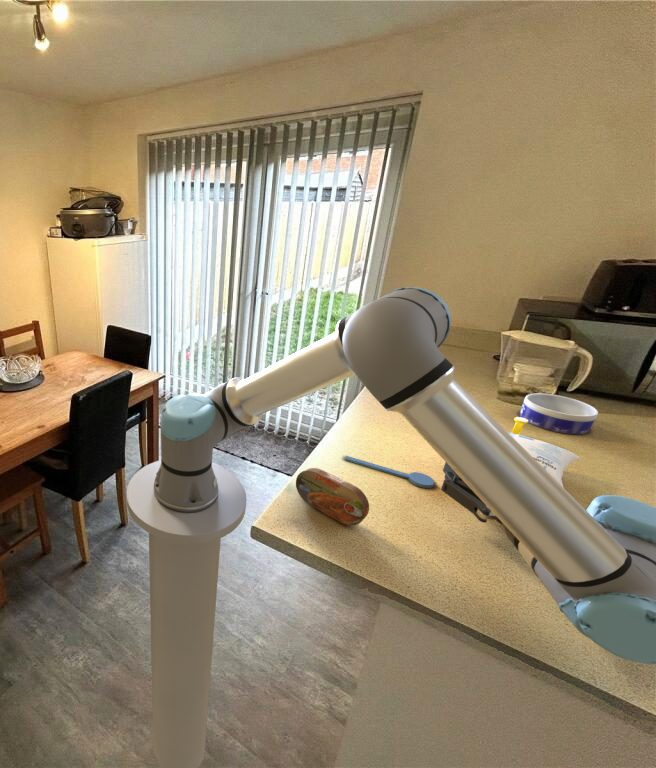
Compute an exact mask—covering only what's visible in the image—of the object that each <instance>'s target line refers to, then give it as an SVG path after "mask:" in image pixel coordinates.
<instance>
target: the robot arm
mask: <svg viewBox="0 0 656 768" xmlns="http://www.w3.org/2000/svg"><path fill="white" fill-rule="evenodd" d="M451 314H452V313H451V311H450V308H449V306H448V304H447V303H446V302H445V300H444V299H443V298H442V297H441V296H440V295H439V294H437V293H436V292H434V291H432V290H429V289H427V288H423V287H415V286H413V287H410V286H409V287H407V286H405V287H399V288H395V289H392V290H391V291H389V292H388V293H386V294H384V295H383V296H381V297H380V298H377V299H375V300H372V301H370V302H368V303H366V304H363V306H361V307H359V308H358V309H357V310H356V311H354V312H352V313H350V314H348V315H346V316H345V317H343V318H341V319H340V320H338V322H337V324H336V327H335V331H334V332H333V333H331V334H328V335H327V336H325V337H323V338H322V339H319V340H318V341H315V342H313V343H312V344H310V345H308V346H306V347H304V348H302V349H301V350H298V351H296V352H295V353H292V354H291V355H289V356H287V357H285V358H283V359H281V360H279V361H277V362H276V363H273V364H272V365H269V366H268V367H267V368H264V369H262V370H261V371H259V372H256V373H254V374H253V375H251V376H249V377H247V378H244V377H239V376H236V377H233V378H231V379H229V380H227V381H225V382H223V383H221V384H219V385H217V386H216V387H214V388H212V389H210V390H209V391H207V392H205V393H202V394H201V393H187V394H179V395H176V396H173V397H172V398H170V399H169V400H167V401H166V403H165V404H164V405H163V407H162V409H161V416H160V417H161V418H160V420H159V426H160V427H159V428H160V460H161V465H160V467H159V470H158V472H157V473H156V478H155V481H154V495H155V498H156V499H157V501H158V502H159V503H160V504H161V505H163V506H164V507H166V508H168V509H170V510H172V511H176V512H180V513H196V512H200V511H203V510H206V509H208V508H209V507H211V506H212V505H213V504H214V503H215V502H216V500H217V497H218V483H217V478H216V477H215V474H214V471H213V468H212V463H213V450H214V448H215V447H216V446H217V445H218V444H220V443H221V442H222V441H224V440H225V439H227V438H229V437H230V436H232V435H233V434H235V433H236V432H239V431H241V430H244V429H246V428H249V427H251V426H254V425H256V424H258V423H259V422H260V421H261V420H262V418H263V415H264V414H266V413H268V412H270V411H272V410H275V409H278V408H279V407H282V406H284V405H287V404H290V403H292V402H294V401H297V400H300V399H301V398H304V397H306V396H308V395H311V394H313V393H316V392H319V391H320V390H323V389H325V388H328V387H330V386H333V385H335V384H337V383H340V382H343V381H345V380H348V379H350V378H352V377H354V376H356V377H357V378H358V379H359V381H360V382H361V383H362V385H363V386H364V387H365V388H366V389H367V391H369V392H370V394H371V395H372V397H374V399H375V400H376V401H378V403H379V404H380V405H381V407H383V408H384V409H385V410H386V411H387V412H394V413H398V414H400V415H401V416H402V417H403V418H404V419H405V420H406V421H407V422H408V424H409V425H411V426H412V428H414V430H415V431H416V432H417V433H418V434H419V435H420V436H421V437H422V438H423V439H424V441H426V443H427V444H428V445H429V446H430V447H431V448H432V449H433V450H434V451H435V452H436V453H437V455H439V457H440V458H441V459H442V460H443V461H444V465H443V469H442V472H443V474H444V479H443V481H442V485H441V488H440V490H441V491H442V492H443V493H444V494H445V495H447V496H448V497H449V498H451V499H453V500H454V501H455V502H456V503H458V504H459V505H461V506H462V507H463V508H465V509H466V510H467V511H469V512H470V513H472V515H473V516H474V517H475V518H476V519H477V520H478V521H479V522H481V523H483V524H485V523H487V521H488V520H493V521H497V523H499V524H500V525H501V526H503V529H504V532H505V535H506V536H507V539H508V540H509V541H510V542H511V544H512V545H513V546H514V547H515V549H516V550H517V551H518V552H519V554H520V556H521V557H522V558H523V560H524V561H525V562H526V564H527V565H528V566H529V567H530V568H531V570H532V572H533V573H534V574H535V576H536V577H537V578H538V579H539V580H540V582H541V584H542V585H543V586H544V588H545V589H546V590H547V592H548V593H549V595H550V597H551V598H552V599H553V600H554V602H555V604H556V605H557V607H558V609H559V611H560V612H561V613H563V615H564V617H566V618H567V620H568V621H569V622H570V623H571V624H572V625H573V626H574V628H575V629H576V630H577V631H578V632H580V634H582V635H583V636H584V637H586V638H588V639H590V640H591V641H592V642H593V643H594V644H596V645H597V646H599V647H600V648H602V649H603V650H605V651H607V652H608V653H610V654H612V655H614V656H616V657H619V658H622V659H623V660H628V661H631V662H634V663H638V664H643V665H656V507H654V506H653V505H650V504H649V503H646V502H643V501H640V500H637V499H633V498H630V497H626V496H622V495H613V494H606V495H605V494H604V495H599V496H596V497H594V499H593V500H592V501H591V503H590V504H589V506H588V507H587V508H584V507H583V506H582V504H580V503H579V502H578V500H576V499H575V498H574V497H573V495H571V494H570V493H569V492H568V491H567V490H566V489H565V487H564V486H563V487H564V488H563V487H562V486H561V485H560V484H559V483H558V482H557V481H556V480H555V479H554V478H553V477H552V476H551V475H550V474H549V473H548V472H547V471H546V470H545V469H544V468H543V467H542V466H541V465H540V464H539V463H538V462H537V461H536V460H535V459H534V458H533V457H532V456H531V455H530V454H529V453H528V452H527V451H526V450H525V449H524V448H523V447H522V446H521V445H520V444H519V443H518V442H517V441H516V440H515V439H514V438H513V437H512V436H511V435H510V434H509V433H508V432H509V431H507V430H506V429H505V428H504V427H503V426H502V425H501V424H500V423H499V422H498V421H497V420H496V419H495V418H494V417H493V416H492V415H491V414H490V413H489V411H487V410H486V409H485V408H484V406H482V405H481V404H480V403H479V402H478V401H477V400H476V399H475V398H474V397H473V396H472V395H471V394H470V393H469V392H468V391H467V390H466V389H465V388H464V387H463V386H462V385H461V384H460V383H459V382H458V381H457V380H455V376H454V375H455V369H456V367H455V365H453V364H452V362H451V361H450V360H448V359H447V357H446V356H444V354H443V353H442V352H441V350H440V347H441V346H442V345H443V344H444V343H445V341H446V339H447V338H448V336H449V333H450V330H451V327H452V316H451ZM463 481H464V482H463Z"/></svg>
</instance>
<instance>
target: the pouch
mask: <svg viewBox="0 0 656 768" xmlns="http://www.w3.org/2000/svg"><path fill="white" fill-rule="evenodd" d="M507 432H508V433H509V434H510V435H511V436H512V437H513V438H514V439H515V440H516V441H517V442H518V443H519V444H520V445H521V446H522V447H523V448H524V449H525V450H526V451H527V452H528V453H529V454H530V455H531V456H532V457H533V458H534V459H535V460H536V461H537V462H538V463H539V464H540V465H541V466H542V467H543V468H544V469H545V470H546V471H547V472H548V473H549V474H550V475H551V476H552V477H553V478H554V479H555V480H556V481H557V482H558V483H559V484H560V485H561V486H562V487H563V488H564V489H565V487H564V484H563V479H562V478H563V475H564V471H565V470H566V469H567V468H568V466H569V465H571V464H573V463H574V462H576V461H579V460H581V457H580V456H578V454H576V453H574V452H572V451H570V450H568V449H565V448H563V447H560V446H558V445H555V444H552V443H549V442H545V441H543V440H539V439H536V438H533V437H528V436H526V435H523V434H520V435H518V434H514V433H512V432H510V431H507Z"/></svg>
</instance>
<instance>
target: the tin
mask: <svg viewBox="0 0 656 768" xmlns="http://www.w3.org/2000/svg"><path fill="white" fill-rule="evenodd" d="M295 488H296V491H297V494H298V495H299V497H300V498H301V499H302V500H303V502H304V503H306V504H307V505H309V506H311V507H313V508H314V509H316V510H318V511H319V512H321V513H323V514H325V515H327V516H328V517H330V518H332V519H333V520H335V521H336V522H339V523H340V524H342V525H345V526H357V525H359V524H361V523H362V522H363V521H364V520H365V519H366V517H367V516H368V514H369V513H370V503H369V500H368V498H367V495H365V493H364V492H363V491H362V490H361V489H360V488H359V487H357V486H356V485H354V484H352V483H350V482H348V481H346V480H344V479H341V478H340V477H338V476H336V475H334V474H331V473H329V472H327V471H326V470H323V469H322V468H317V467H311V468H307V469H305V470H303V471H301V472H300V473H298V474H297V476H296V479H295Z"/></svg>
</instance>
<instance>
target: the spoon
mask: <svg viewBox="0 0 656 768" xmlns="http://www.w3.org/2000/svg"><path fill="white" fill-rule="evenodd" d="M344 461H347V462H350V463H353V464H357V465H359V466H363V467H367V468H370V469H373V470H375V471H379V472H383V473H386V474H390V475H392V476H396V477H399V478H403V479H406V480H408V481H409V482H410V483H411V484H412V485H414V486H416V487H419V488H423V489H432V488H433V487H434V485H435V480H434V478H432V477H431V476H430V475H428V474H427V473H426V474H425V473H422V472H419V471H418V472H417V471H413V472H410V473H406V472H402V471H400V470H395V469H393V468H389V467H386V466H382V465H380V464H375V463H373V462H369V461H365V460H362V459H359V458H355V457H352V456H349V455H346V456H345V458H344Z"/></svg>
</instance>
